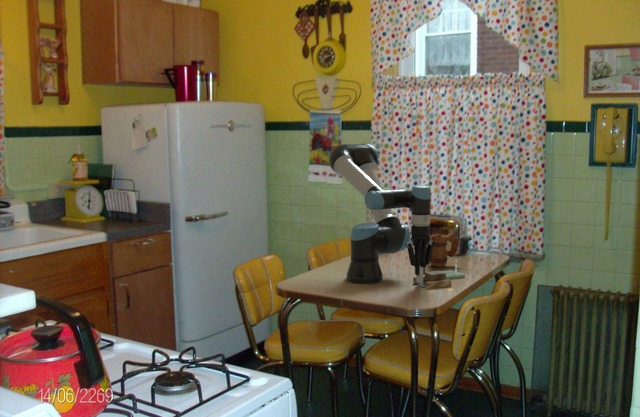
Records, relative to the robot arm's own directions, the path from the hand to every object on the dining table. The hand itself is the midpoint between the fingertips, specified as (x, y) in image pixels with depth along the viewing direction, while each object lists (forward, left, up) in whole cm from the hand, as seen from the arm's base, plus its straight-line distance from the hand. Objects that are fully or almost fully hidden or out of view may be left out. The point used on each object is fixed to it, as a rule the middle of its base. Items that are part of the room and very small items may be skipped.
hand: (419, 282), depth 261 cm
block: (+8, 0, -2) cm, 8 cm away
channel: (+6, 0, -2) cm, 6 cm away
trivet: (+21, +10, -2) cm, 23 cm away
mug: (+31, +28, -2) cm, 42 cm away
